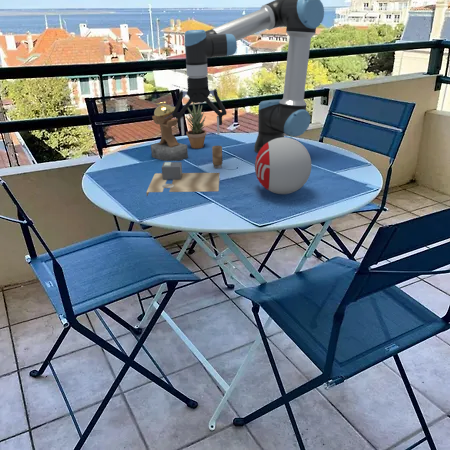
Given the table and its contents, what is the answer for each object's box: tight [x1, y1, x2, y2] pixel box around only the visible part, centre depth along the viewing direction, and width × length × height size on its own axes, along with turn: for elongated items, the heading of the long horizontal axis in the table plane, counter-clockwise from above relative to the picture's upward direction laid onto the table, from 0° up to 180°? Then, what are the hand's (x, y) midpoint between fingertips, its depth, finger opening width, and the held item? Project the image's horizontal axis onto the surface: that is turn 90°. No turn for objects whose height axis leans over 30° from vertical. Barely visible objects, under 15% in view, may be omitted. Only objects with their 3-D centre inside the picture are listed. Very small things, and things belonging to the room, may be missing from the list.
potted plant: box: [185, 102, 207, 149], centre depth 212 cm, size 10×10×25 cm
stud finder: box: [161, 161, 183, 181], centre depth 175 cm, size 7×6×5 cm
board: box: [145, 172, 221, 197], centre depth 171 cm, size 26×20×2 cm
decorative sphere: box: [254, 136, 312, 195], centre depth 159 cm, size 20×20×20 cm
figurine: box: [150, 101, 189, 162], centre depth 198 cm, size 14×11×25 cm
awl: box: [211, 145, 223, 169], centre depth 184 cm, size 4×4×10 cm
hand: (200, 134), depth 172 cm, fingers open, 13 cm apart
